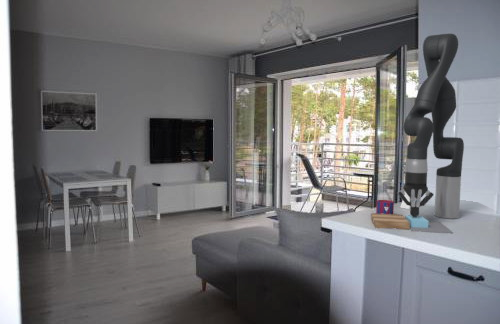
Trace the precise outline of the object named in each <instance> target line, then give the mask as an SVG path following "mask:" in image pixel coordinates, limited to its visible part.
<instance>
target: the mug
mask: <svg viewBox="0 0 500 324" xmlns="http://www.w3.org/2000/svg"><path fill="white" fill-rule="evenodd" d="M394 205H395V202H394V200H390V199H377V200H376V212H375V213H376V214H394V210H395V209H394V207H395V206H394Z"/></svg>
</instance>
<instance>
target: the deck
mask: <svg viewBox="0 0 500 324" xmlns="http://www.w3.org/2000/svg"><path fill="white" fill-rule="evenodd" d="M370 220H371V223H372V225H373V224H374V225H373V226H375V227H374V228H375V229H376V228H377V229H388V228H396V229H395V230H407V229H410V222H409V221H408V220H407V219H406V218H405V215H403V214H394V213H393V214H376V212H375V213H373V212H371V213H370Z"/></svg>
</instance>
